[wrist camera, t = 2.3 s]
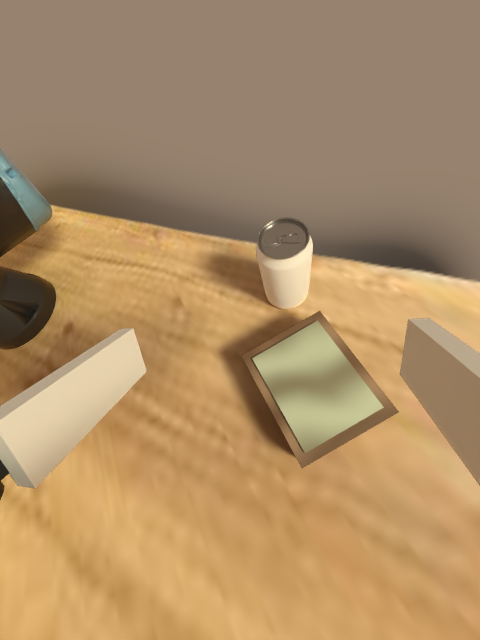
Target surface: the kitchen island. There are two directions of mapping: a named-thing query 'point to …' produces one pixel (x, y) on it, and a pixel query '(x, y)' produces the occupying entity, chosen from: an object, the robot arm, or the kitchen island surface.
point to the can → (285, 261)
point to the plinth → (316, 388)
